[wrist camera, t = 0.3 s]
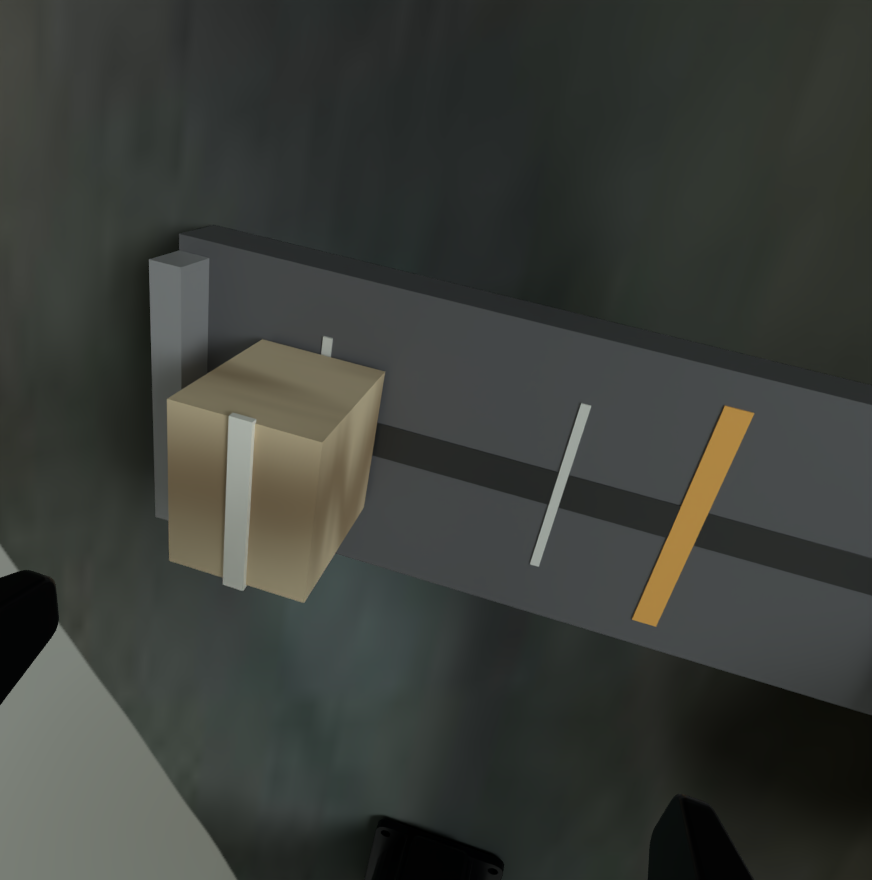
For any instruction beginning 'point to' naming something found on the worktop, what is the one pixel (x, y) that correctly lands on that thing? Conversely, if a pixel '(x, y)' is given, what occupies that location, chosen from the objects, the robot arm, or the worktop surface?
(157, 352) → the fader console
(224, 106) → the worktop surface
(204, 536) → the fader knob
